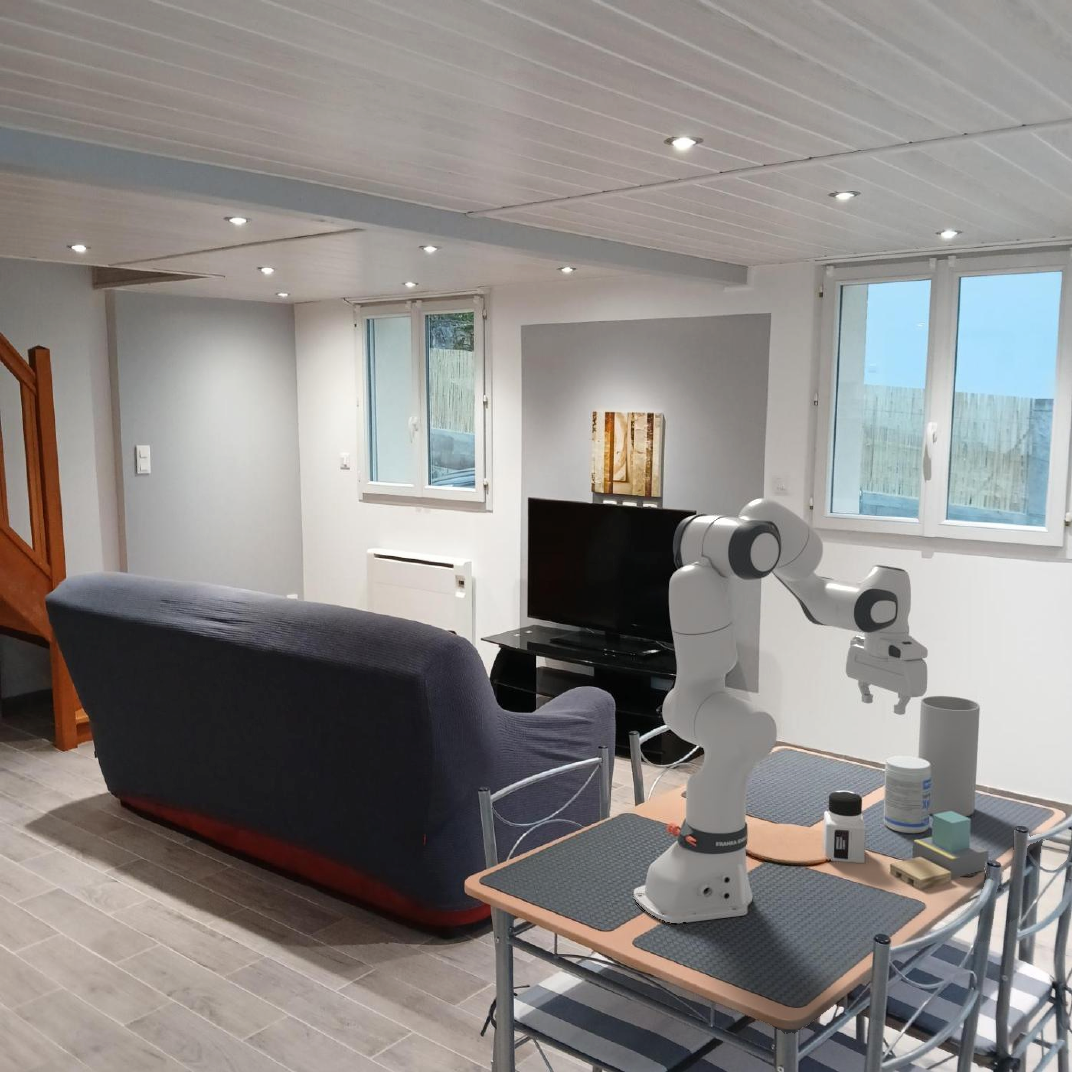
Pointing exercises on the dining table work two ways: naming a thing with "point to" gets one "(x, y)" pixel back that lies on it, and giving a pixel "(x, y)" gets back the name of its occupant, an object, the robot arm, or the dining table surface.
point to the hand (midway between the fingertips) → (882, 708)
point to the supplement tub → (907, 794)
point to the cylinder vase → (950, 752)
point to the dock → (952, 857)
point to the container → (844, 828)
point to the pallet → (920, 872)
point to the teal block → (951, 831)
